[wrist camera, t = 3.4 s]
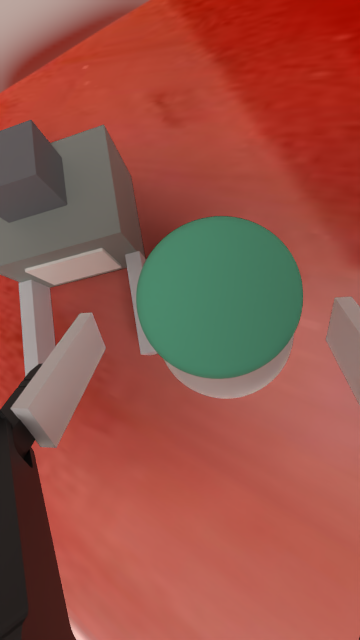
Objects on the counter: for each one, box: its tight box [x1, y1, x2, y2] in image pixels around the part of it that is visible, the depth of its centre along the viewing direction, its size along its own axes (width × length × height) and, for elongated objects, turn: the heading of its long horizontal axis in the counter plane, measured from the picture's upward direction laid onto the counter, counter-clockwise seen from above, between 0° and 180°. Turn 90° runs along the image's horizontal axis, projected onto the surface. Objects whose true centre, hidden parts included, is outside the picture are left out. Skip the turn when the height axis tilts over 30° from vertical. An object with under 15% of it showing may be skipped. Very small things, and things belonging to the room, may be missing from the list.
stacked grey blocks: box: [0, 120, 158, 377], centre depth 25 cm, size 14×21×11 cm, turn 11°
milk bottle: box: [136, 216, 303, 399], centre depth 17 cm, size 8×8×20 cm
